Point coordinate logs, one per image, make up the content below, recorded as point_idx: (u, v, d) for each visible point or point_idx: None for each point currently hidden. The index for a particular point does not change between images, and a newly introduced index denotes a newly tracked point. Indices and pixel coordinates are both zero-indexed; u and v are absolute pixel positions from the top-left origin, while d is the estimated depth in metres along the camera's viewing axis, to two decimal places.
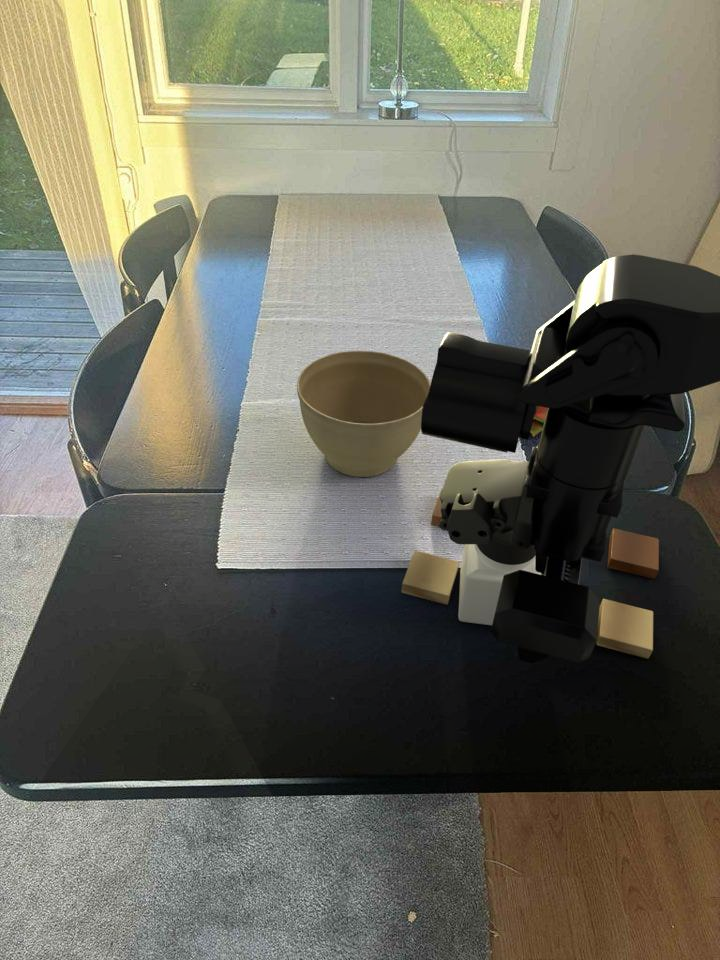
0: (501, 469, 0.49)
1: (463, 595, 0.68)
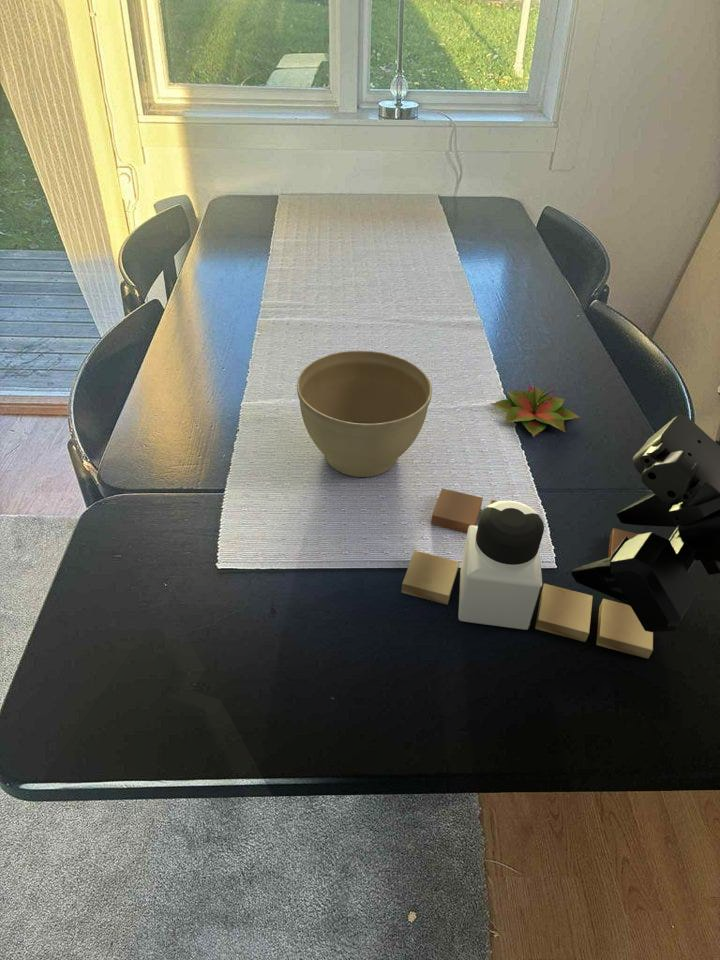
0: (715, 454, 0.51)
1: (463, 595, 0.68)
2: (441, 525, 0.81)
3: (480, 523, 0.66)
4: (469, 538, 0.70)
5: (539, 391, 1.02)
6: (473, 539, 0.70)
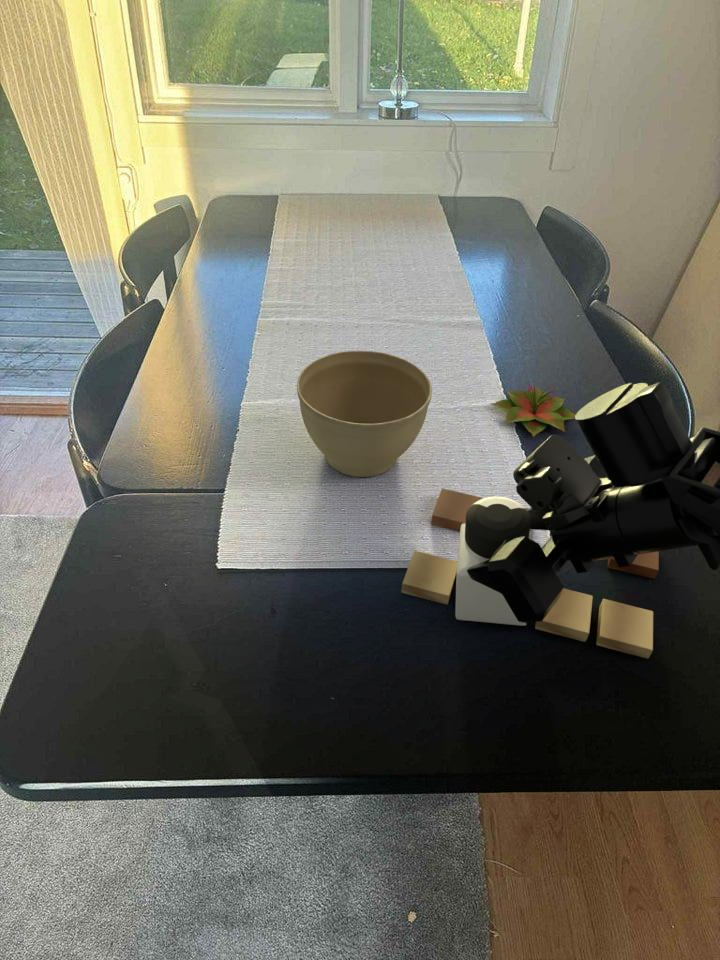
0: (582, 470, 0.59)
1: (456, 593, 0.68)
2: (441, 525, 0.81)
3: (466, 520, 0.66)
4: (461, 536, 0.70)
5: (539, 391, 1.02)
6: (464, 537, 0.70)
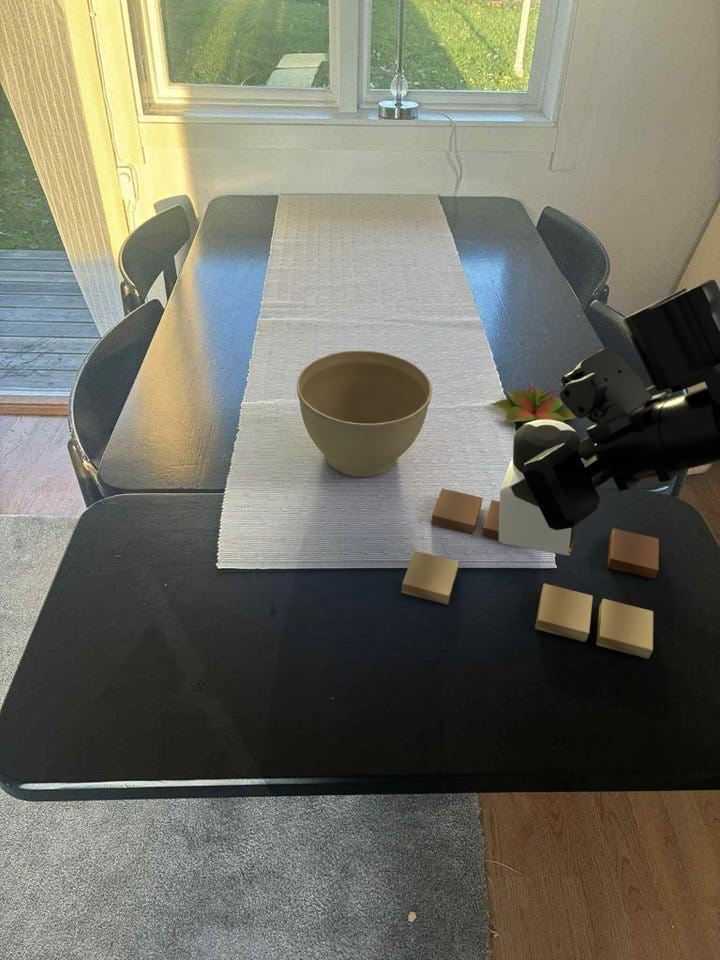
0: (632, 384, 0.58)
1: (499, 513, 0.69)
2: (441, 525, 0.81)
3: (514, 438, 0.66)
4: (511, 460, 0.70)
5: (539, 391, 1.02)
6: None
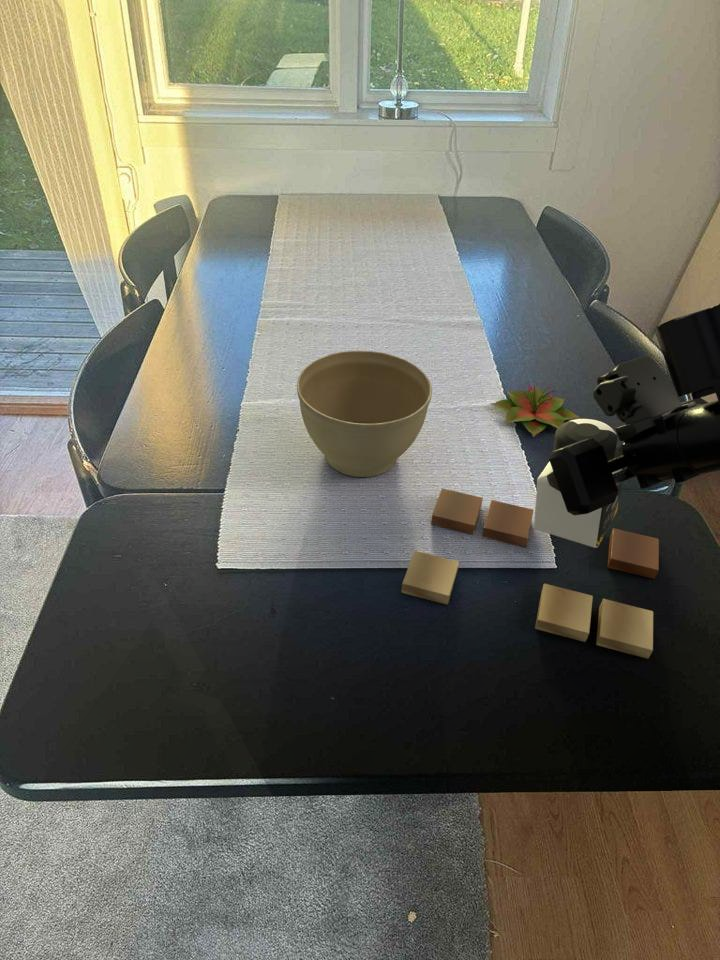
0: (664, 391, 0.63)
1: (536, 500, 0.75)
2: (441, 525, 0.81)
3: (556, 432, 0.72)
4: None
5: (539, 391, 1.02)
6: None
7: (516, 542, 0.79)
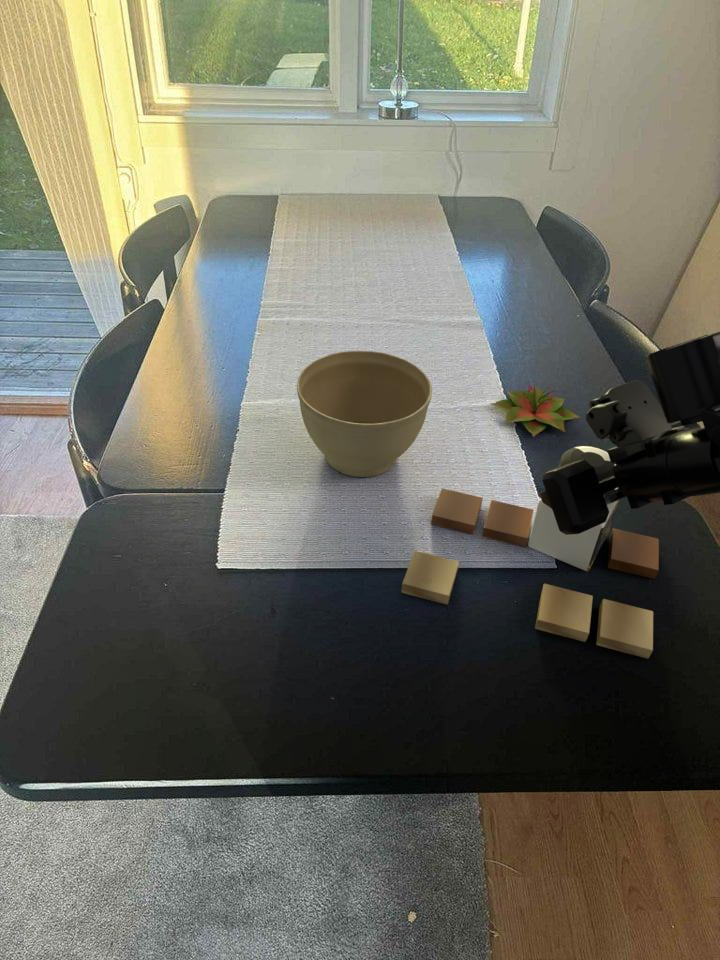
0: (655, 414, 0.64)
1: (534, 520, 0.76)
2: (441, 525, 0.81)
3: (561, 458, 0.73)
4: None
5: (539, 391, 1.02)
6: None
7: (516, 542, 0.79)
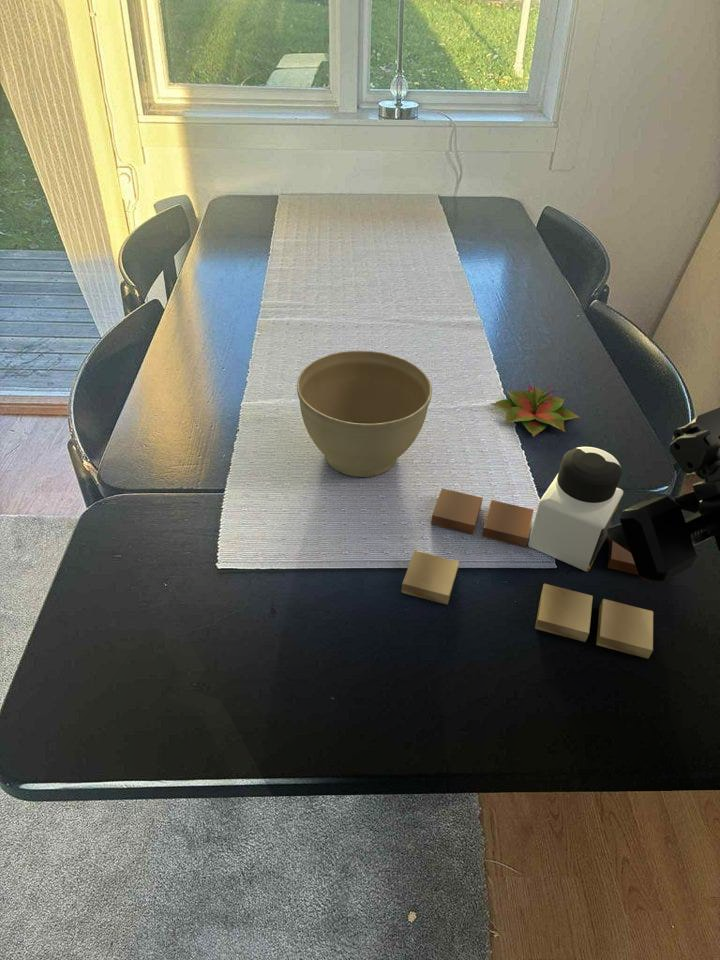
0: None
1: (534, 520, 0.76)
2: (441, 525, 0.81)
3: (563, 458, 0.73)
4: (556, 476, 0.78)
5: (539, 391, 1.02)
6: None
7: (516, 542, 0.79)
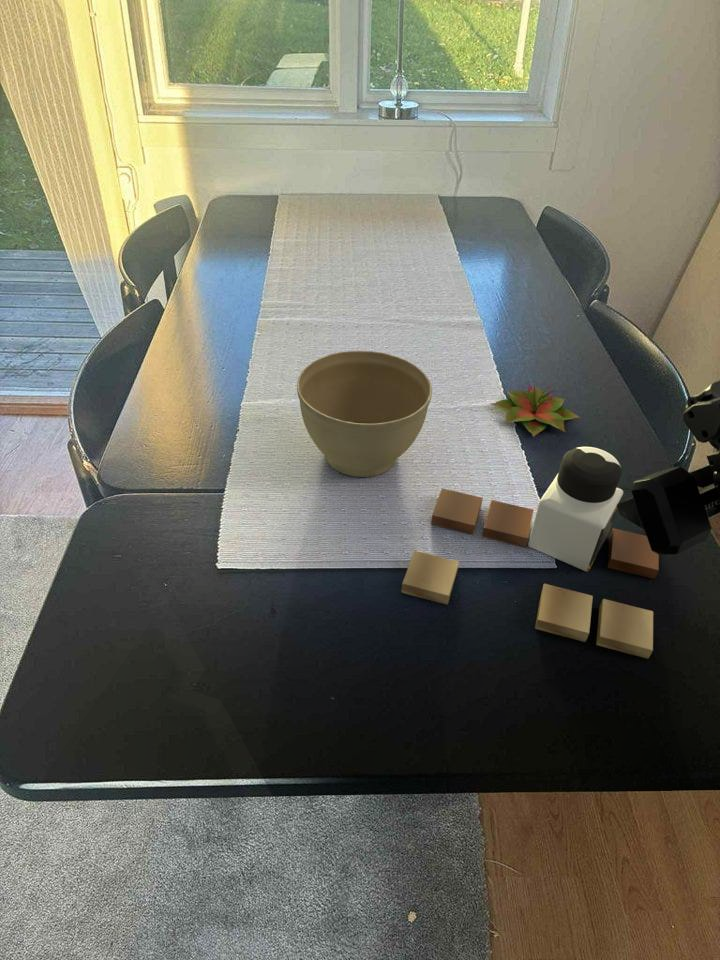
0: None
1: (534, 520, 0.76)
2: (441, 525, 0.81)
3: (563, 458, 0.73)
4: (556, 476, 0.78)
5: (539, 391, 1.02)
6: None
7: (516, 542, 0.79)
